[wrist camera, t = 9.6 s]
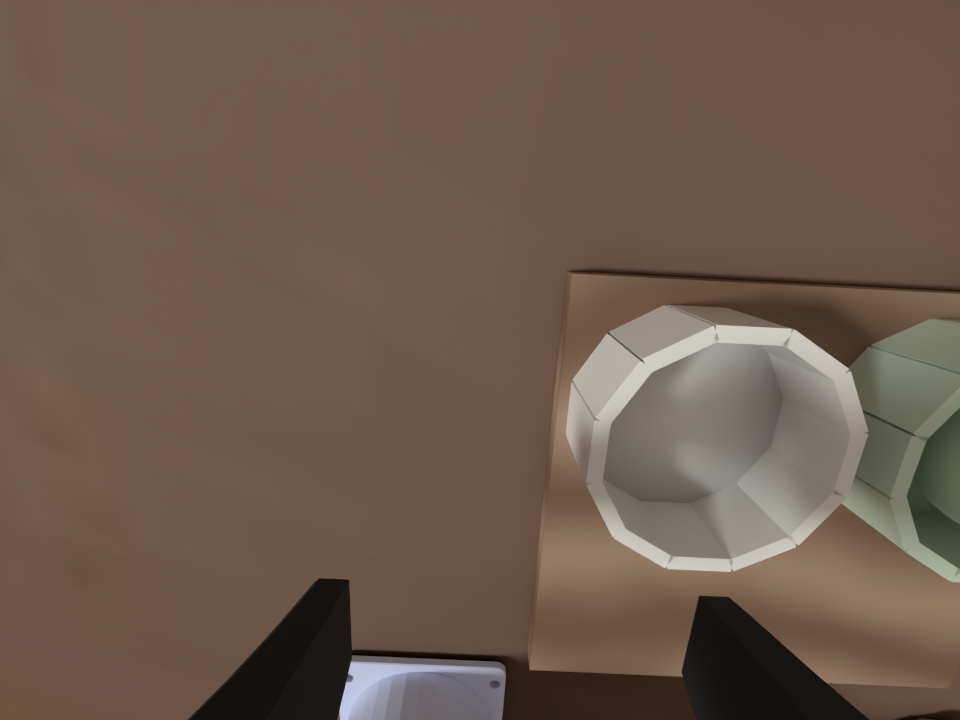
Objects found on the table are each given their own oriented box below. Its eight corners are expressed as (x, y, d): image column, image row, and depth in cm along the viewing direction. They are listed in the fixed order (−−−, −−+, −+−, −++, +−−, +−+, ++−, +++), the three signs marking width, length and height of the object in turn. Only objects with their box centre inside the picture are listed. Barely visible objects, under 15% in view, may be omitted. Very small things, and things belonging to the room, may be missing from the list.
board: (927, 667, 22) (948, 688, 21) (527, 650, 21) (529, 669, 20) (1088, 298, 17) (1126, 302, 16) (567, 271, 16) (572, 273, 15)
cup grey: (759, 511, 18) (822, 576, 15) (557, 502, 18) (574, 564, 15) (811, 312, 16) (900, 334, 12) (580, 300, 16) (607, 319, 12)
